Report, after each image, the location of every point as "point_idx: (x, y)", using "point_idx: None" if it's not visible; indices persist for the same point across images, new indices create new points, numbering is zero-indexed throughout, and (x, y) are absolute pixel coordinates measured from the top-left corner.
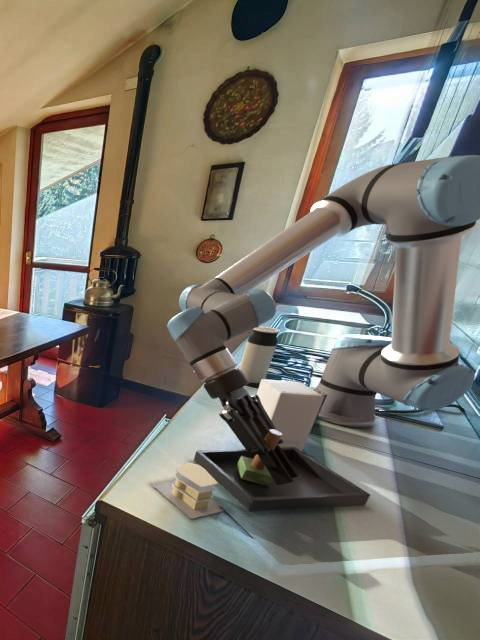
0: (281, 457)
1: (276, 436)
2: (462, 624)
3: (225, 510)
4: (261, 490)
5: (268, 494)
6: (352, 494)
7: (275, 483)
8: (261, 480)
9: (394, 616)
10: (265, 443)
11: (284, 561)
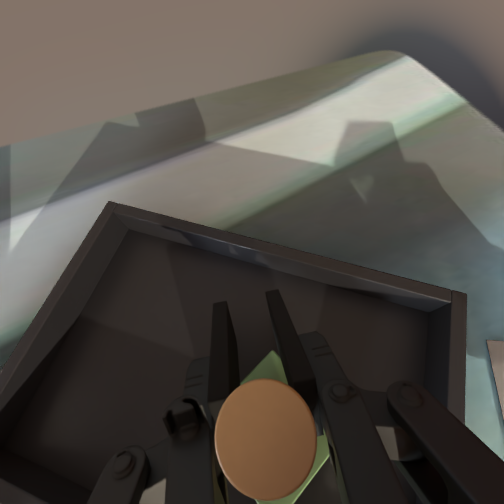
0: (230, 362)
1: (298, 395)
2: (318, 70)
3: (502, 342)
4: None
5: None
6: (149, 214)
7: None
8: None
9: (396, 93)
10: (342, 423)
11: (479, 189)
